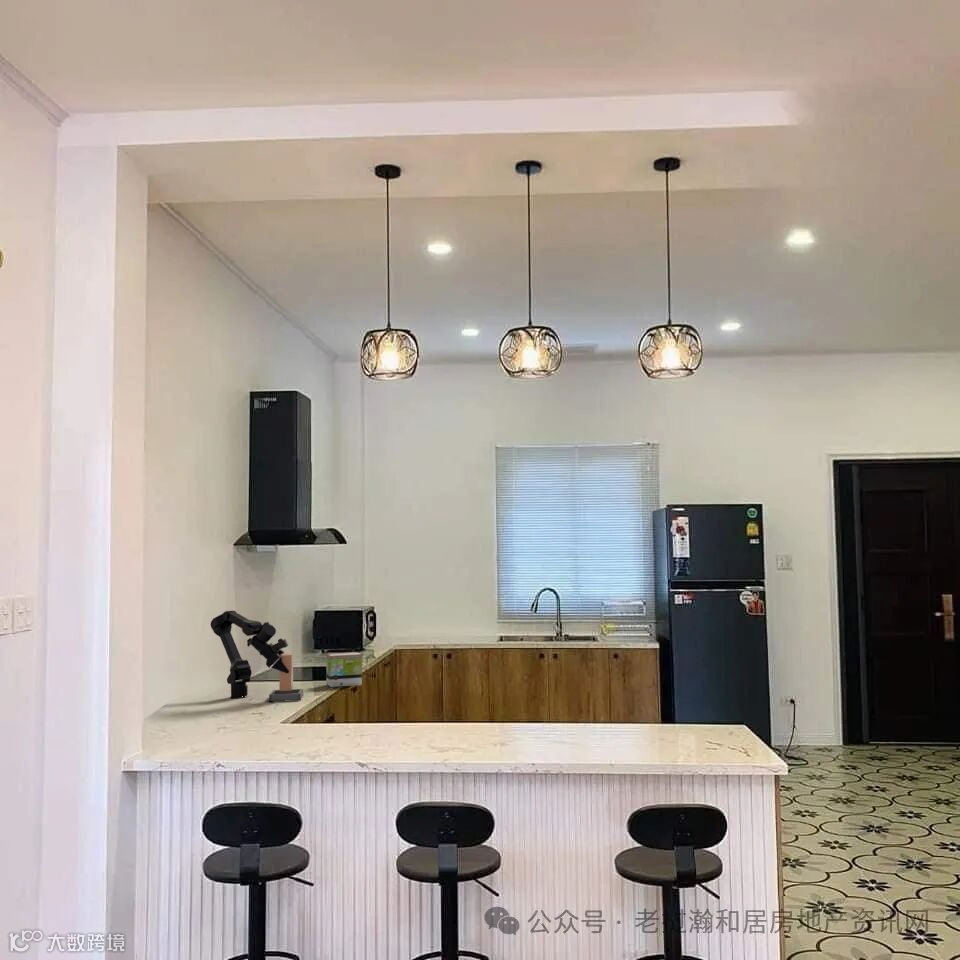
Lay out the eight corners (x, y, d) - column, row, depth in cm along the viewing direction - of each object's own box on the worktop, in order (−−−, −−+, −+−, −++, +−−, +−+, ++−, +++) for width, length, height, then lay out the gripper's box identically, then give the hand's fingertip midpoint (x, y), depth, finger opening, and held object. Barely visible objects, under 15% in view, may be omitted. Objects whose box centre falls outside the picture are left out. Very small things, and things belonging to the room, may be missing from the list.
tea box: (330, 688, 408) (330, 655, 409) (326, 685, 417) (325, 653, 418) (362, 685, 414) (362, 653, 415) (357, 682, 423) (356, 651, 424)
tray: (269, 702, 373) (269, 694, 373) (273, 697, 386) (273, 690, 386) (300, 700, 375) (300, 693, 375) (303, 695, 387) (303, 688, 388)
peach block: (279, 690, 378) (279, 655, 379) (281, 688, 383) (281, 653, 385) (291, 690, 378) (291, 655, 379) (292, 688, 384) (293, 653, 385)
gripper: (273, 635, 373) (300, 660, 373) (279, 630, 391) (304, 655, 392) (254, 654, 372) (281, 680, 372) (261, 649, 390) (286, 673, 390)
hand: (289, 671), depth 381 cm, fingers closed on peach block, 6 cm apart
